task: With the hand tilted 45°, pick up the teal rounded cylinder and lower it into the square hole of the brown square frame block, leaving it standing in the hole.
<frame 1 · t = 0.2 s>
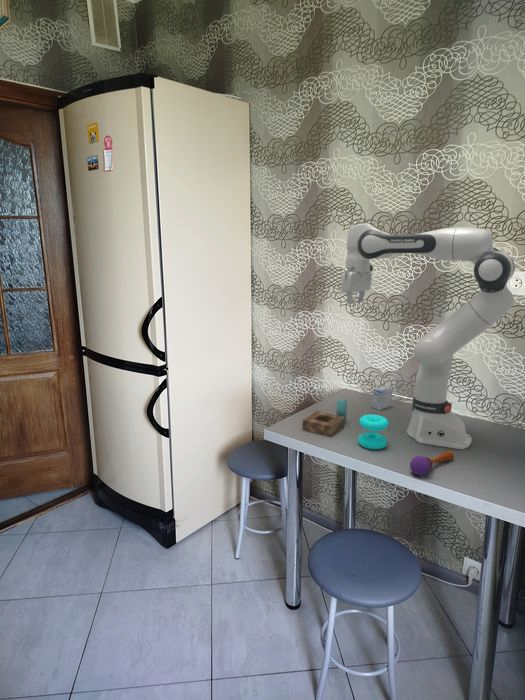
hand: (355, 303, 178), 47 cm above the table, tool pointing down, fingers open, 8 cm apart
medicine box: (381, 407, 202), on the table
kendama: (432, 468, 147), on the table
donuts: (372, 445, 164), on the table
teal rounded cylinder: (340, 421, 185), on the table
brown square frame block: (323, 428, 178), on the table
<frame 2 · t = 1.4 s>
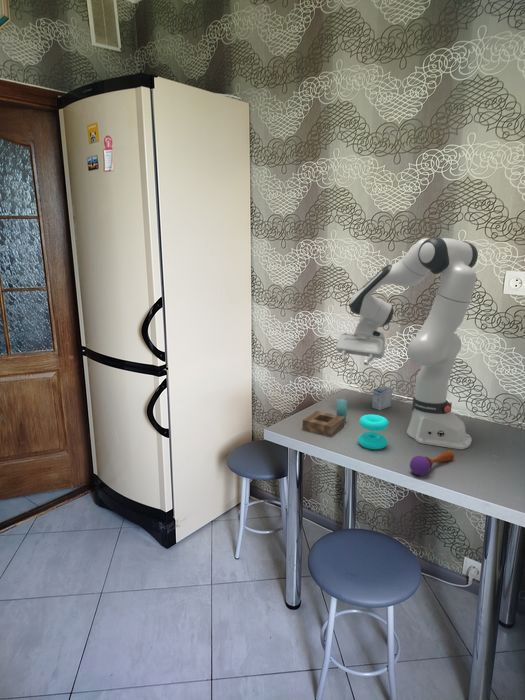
hand: (354, 362, 190), 22 cm above the table, tool tilted 45°, fingers open, 8 cm apart
nothing on the table moved.
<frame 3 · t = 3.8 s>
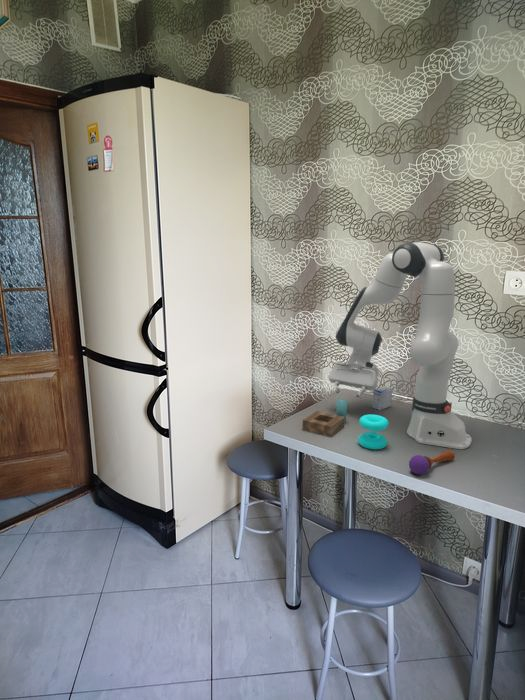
hand: (347, 394, 187), 10 cm above the table, tool tilted 45°, fingers open, 8 cm apart
nothing on the table moved.
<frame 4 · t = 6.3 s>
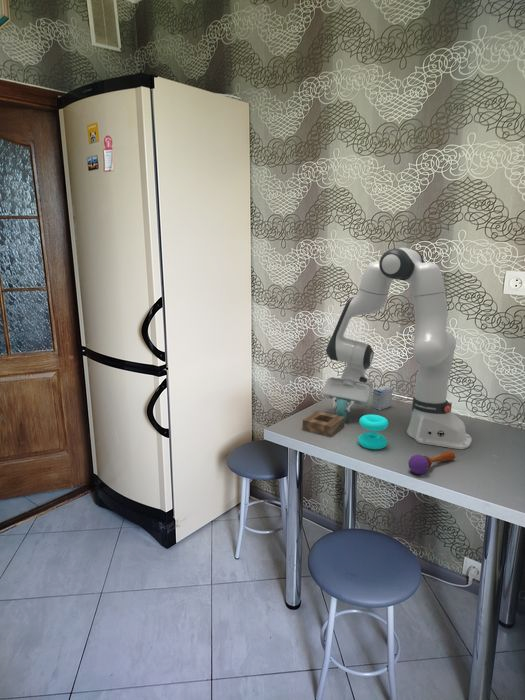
hand: (340, 410, 183), 5 cm above the table, tool tilted 45°, fingers closed on teal rounded cylinder, 4 cm apart
teal rounded cylinder: (340, 421, 185), on the table, touching gripper
everything else where it was.
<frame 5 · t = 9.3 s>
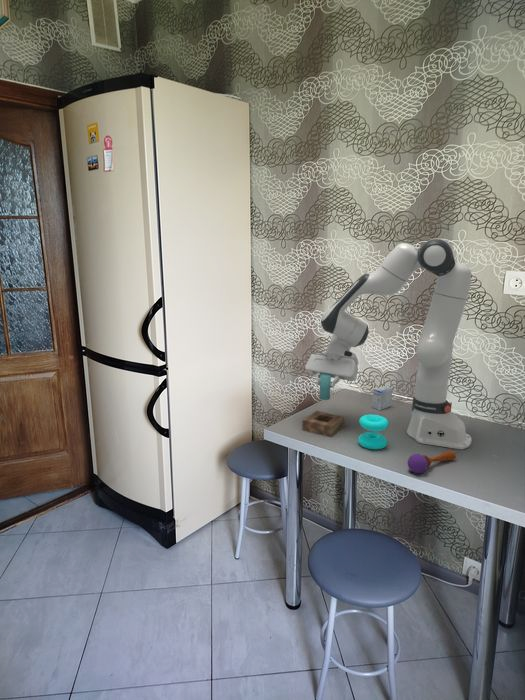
hand: (324, 385, 174), 17 cm above the table, tool tilted 45°, fingers closed on teal rounded cylinder, 4 cm apart
teal rounded cylinder: (324, 398, 175), point 12 cm above the table, touching gripper
everything else where it was.
when the fingers open (7 cm above the table, at t = 12.1 s): teal rounded cylinder drops 2 cm, resting in brown square frame block.
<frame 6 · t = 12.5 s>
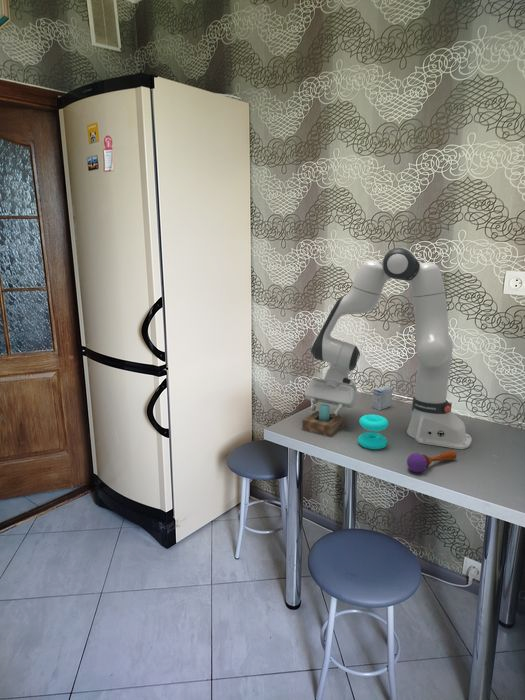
hand: (323, 412, 176), 7 cm above the table, tool tilted 45°, fingers open, 8 cm apart
teal rounded cylinder: (323, 428, 178), resting in brown square frame block
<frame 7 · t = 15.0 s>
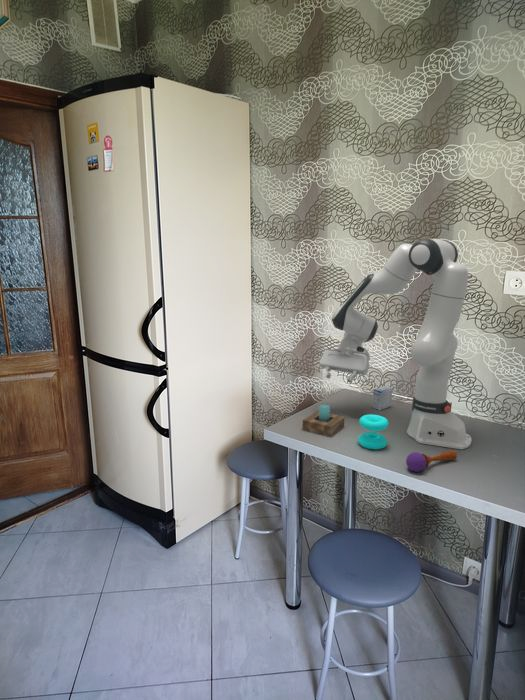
hand: (338, 379, 184), 17 cm above the table, tool tilted 45°, fingers open, 8 cm apart
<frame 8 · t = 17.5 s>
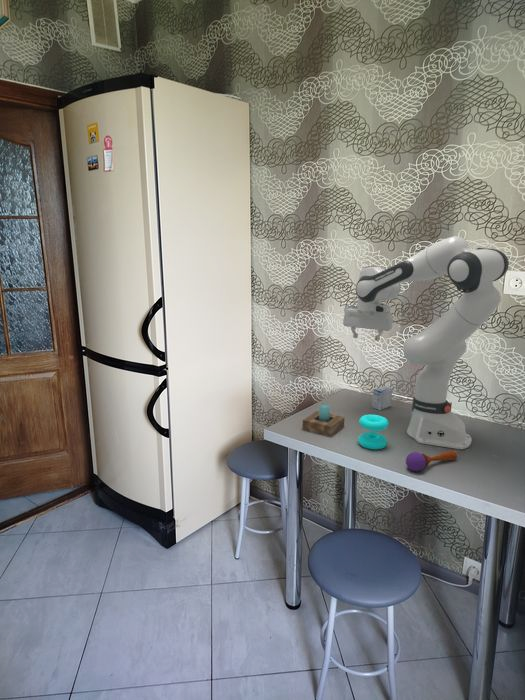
hand: (366, 339, 191), 31 cm above the table, tool pointing down, fingers open, 8 cm apart
at the end: teal rounded cylinder 0.1 cm off-centre on the brown square frame block, point 0.0 cm above the brown square frame block's base; teal rounded cylinder tilted 0°; the gripper is holding nothing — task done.
